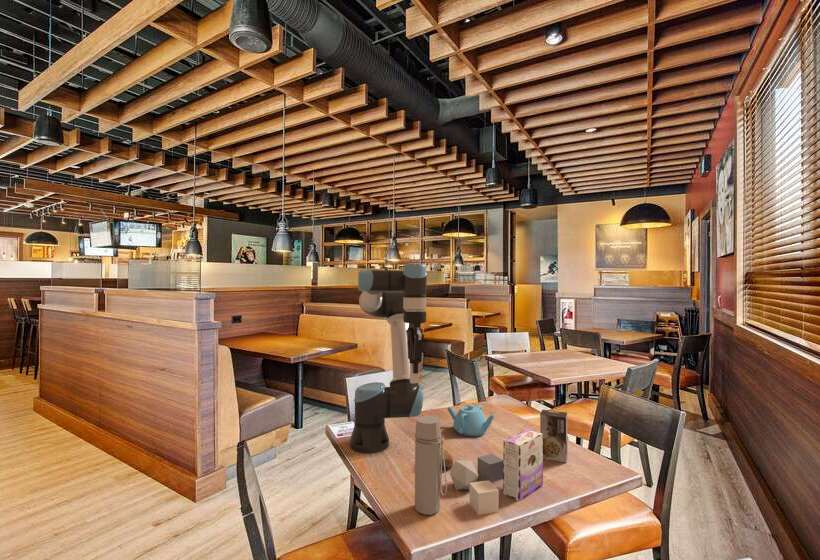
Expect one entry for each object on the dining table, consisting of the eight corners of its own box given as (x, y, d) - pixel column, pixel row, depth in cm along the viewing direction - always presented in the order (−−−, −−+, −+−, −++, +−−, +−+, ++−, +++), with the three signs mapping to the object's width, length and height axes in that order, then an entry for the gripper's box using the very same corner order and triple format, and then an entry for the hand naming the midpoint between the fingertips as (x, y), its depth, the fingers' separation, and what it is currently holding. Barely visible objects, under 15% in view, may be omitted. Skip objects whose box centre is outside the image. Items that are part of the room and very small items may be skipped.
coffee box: (567, 456, 150) (568, 412, 150) (566, 463, 144) (566, 417, 144) (541, 451, 153) (542, 408, 153) (539, 458, 148) (539, 413, 148)
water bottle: (410, 514, 112) (410, 422, 112) (419, 499, 119) (420, 413, 119) (442, 521, 109) (443, 426, 109) (450, 506, 116) (450, 417, 116)
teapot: (478, 422, 185) (478, 397, 185) (495, 437, 168) (495, 409, 168) (446, 425, 181) (446, 399, 181) (460, 440, 164) (460, 412, 164)
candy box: (526, 479, 132) (527, 428, 132) (543, 486, 128) (543, 433, 128) (502, 494, 123) (502, 439, 123) (519, 502, 118) (519, 445, 118)
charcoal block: (477, 475, 134) (477, 457, 134) (491, 471, 137) (491, 453, 137) (489, 483, 129) (489, 464, 129) (504, 479, 132) (504, 460, 132)
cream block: (469, 503, 117) (469, 482, 117) (488, 501, 119) (488, 480, 119) (478, 515, 112) (478, 493, 112) (498, 512, 113) (498, 490, 113)
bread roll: (429, 484, 136) (434, 466, 133) (415, 459, 144) (420, 442, 141) (454, 477, 140) (460, 460, 137) (440, 454, 149) (445, 437, 146)
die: (470, 499, 121) (486, 469, 124) (445, 482, 122) (461, 453, 125) (466, 496, 128) (481, 467, 131) (442, 480, 130) (457, 452, 133)
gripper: (432, 311, 129) (431, 386, 129) (420, 309, 141) (419, 377, 141) (408, 312, 127) (408, 388, 127) (399, 309, 139) (398, 378, 139)
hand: (414, 382), depth 134 cm, fingers closed
